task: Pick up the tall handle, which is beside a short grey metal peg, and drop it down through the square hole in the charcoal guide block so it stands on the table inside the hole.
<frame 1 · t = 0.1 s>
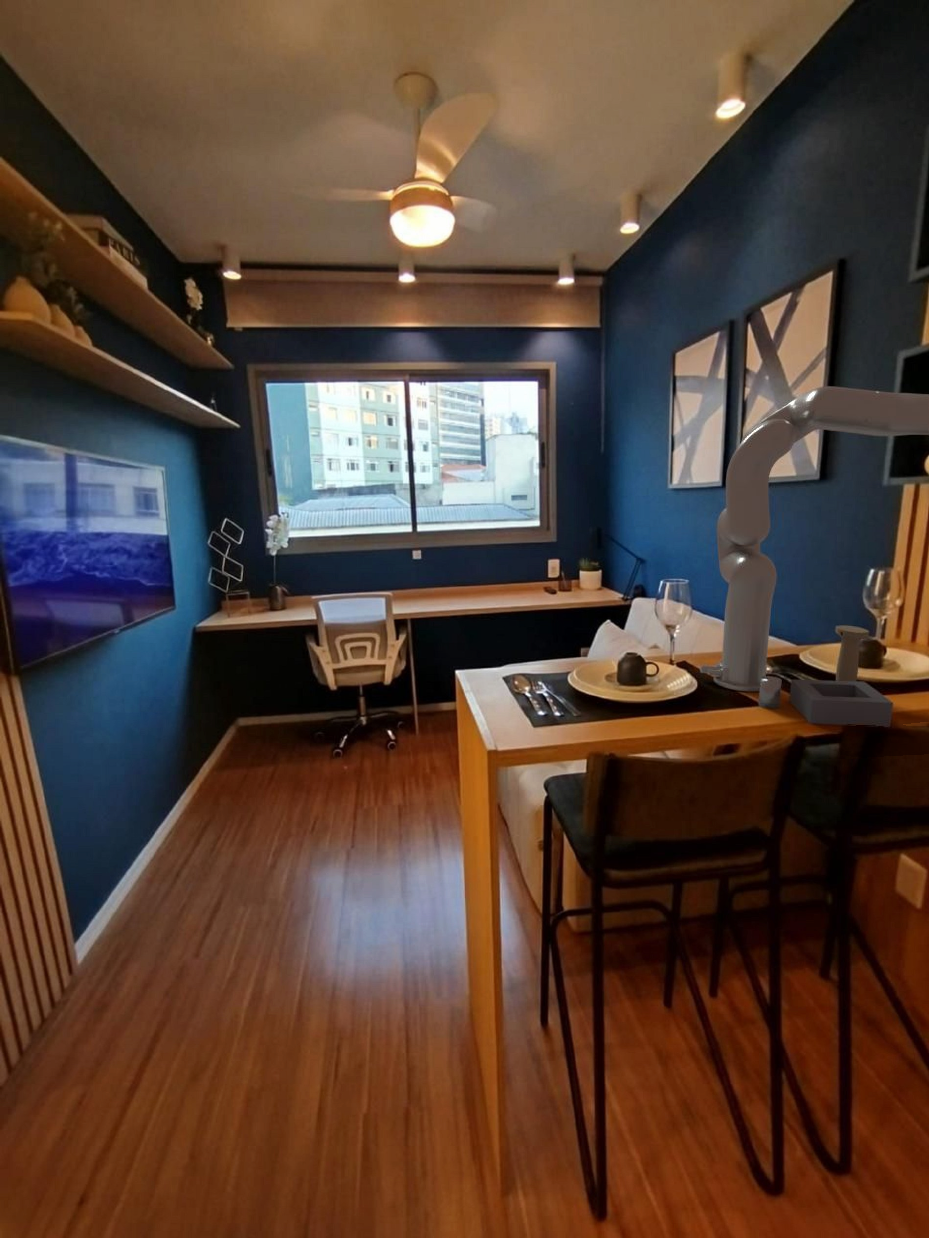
guide block: (836, 713, 116), on the table
short peg: (768, 705, 122), on the table
handle: (844, 694, 127), on the table
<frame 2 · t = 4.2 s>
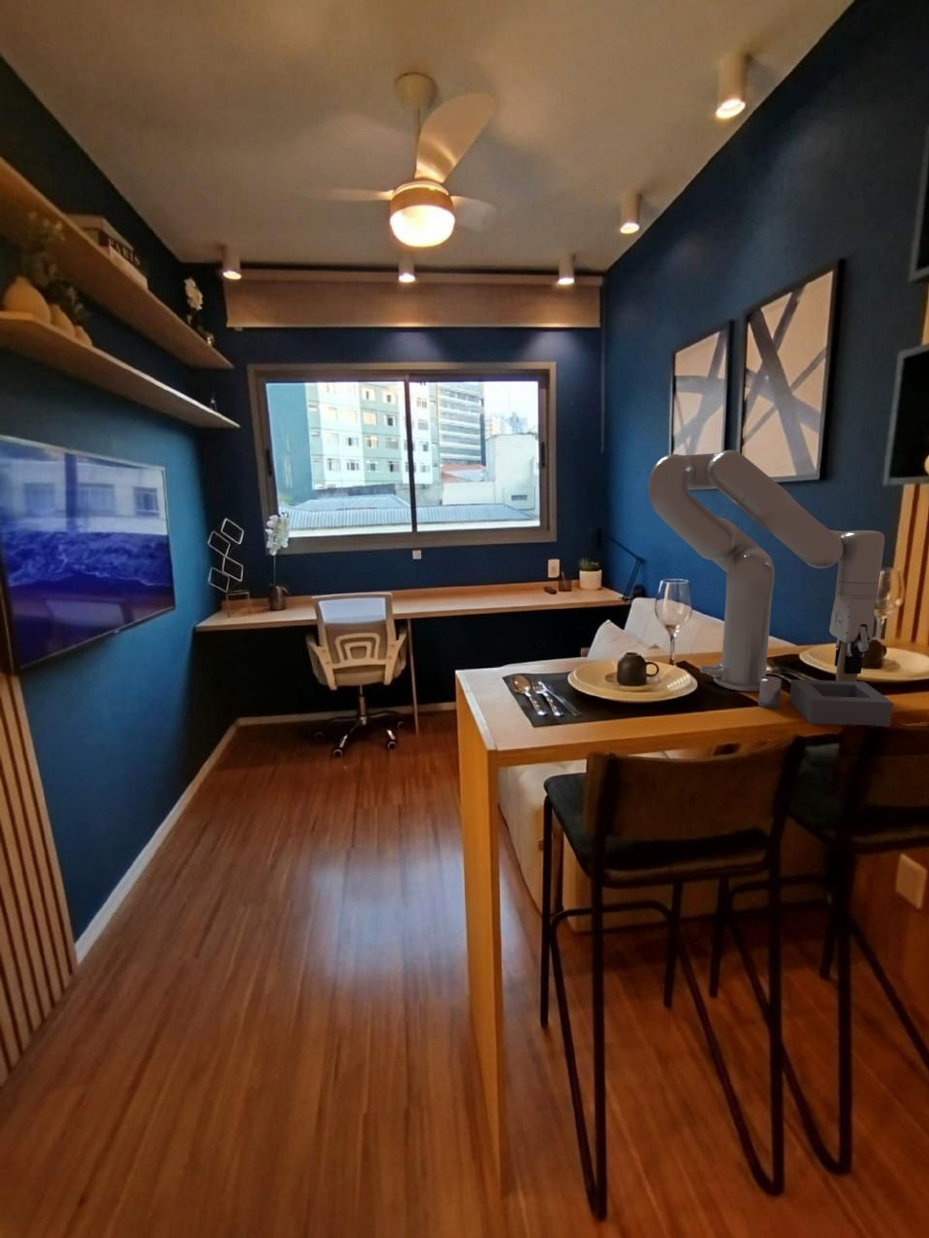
hand: (847, 669, 125), 6 cm above the table, tool pointing down, fingers closed on handle, 4 cm apart
handle: (844, 694, 127), on the table, touching gripper
everything else where it was.
when the fingers open (8 cm above the table, at t = 9.9 s): handle drops 2 cm, resting in guide block.
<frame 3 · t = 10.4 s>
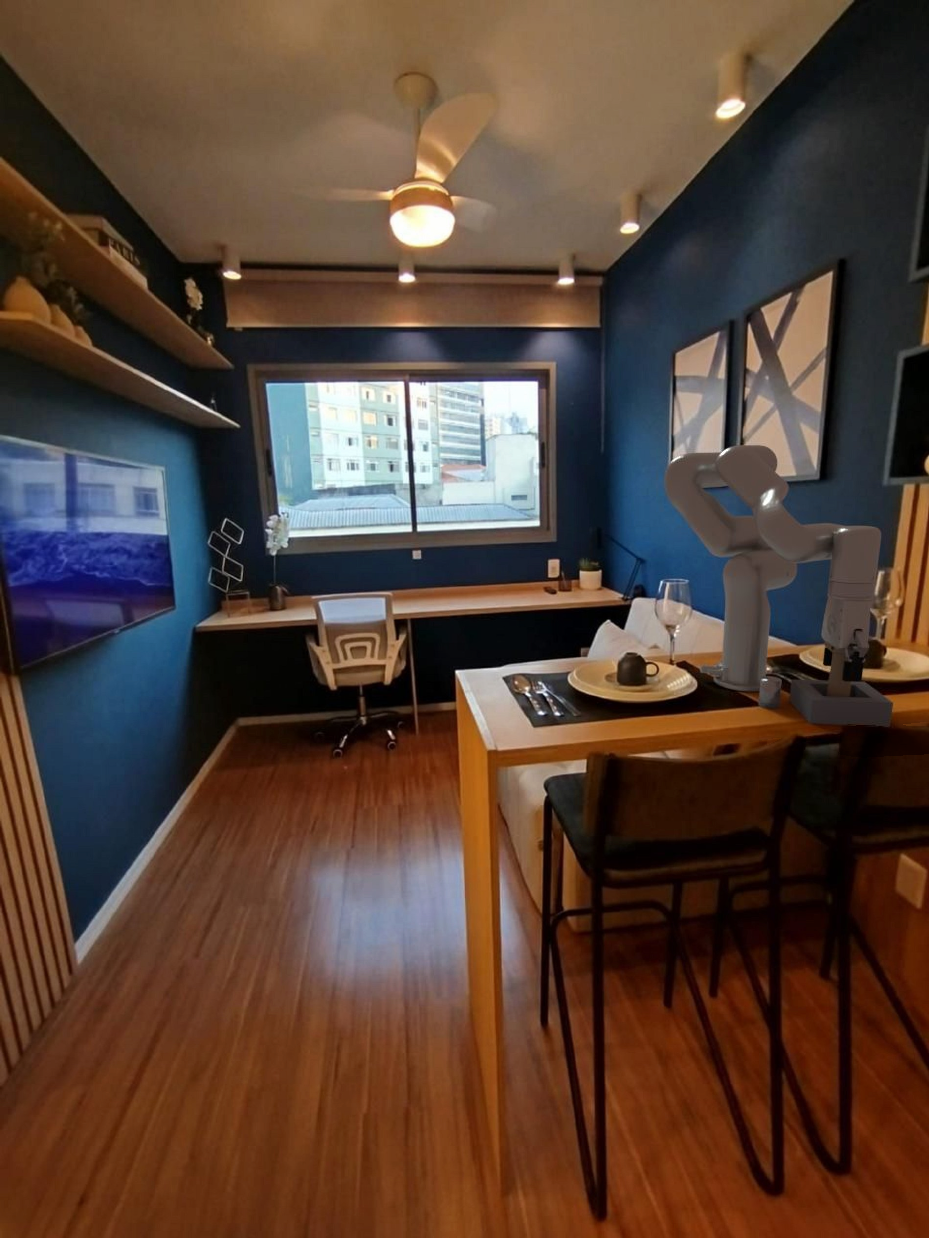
hand: (841, 673, 114), 9 cm above the table, tool pointing down, fingers open, 9 cm apart
handle: (836, 713, 117), resting in guide block
everything else where it was.
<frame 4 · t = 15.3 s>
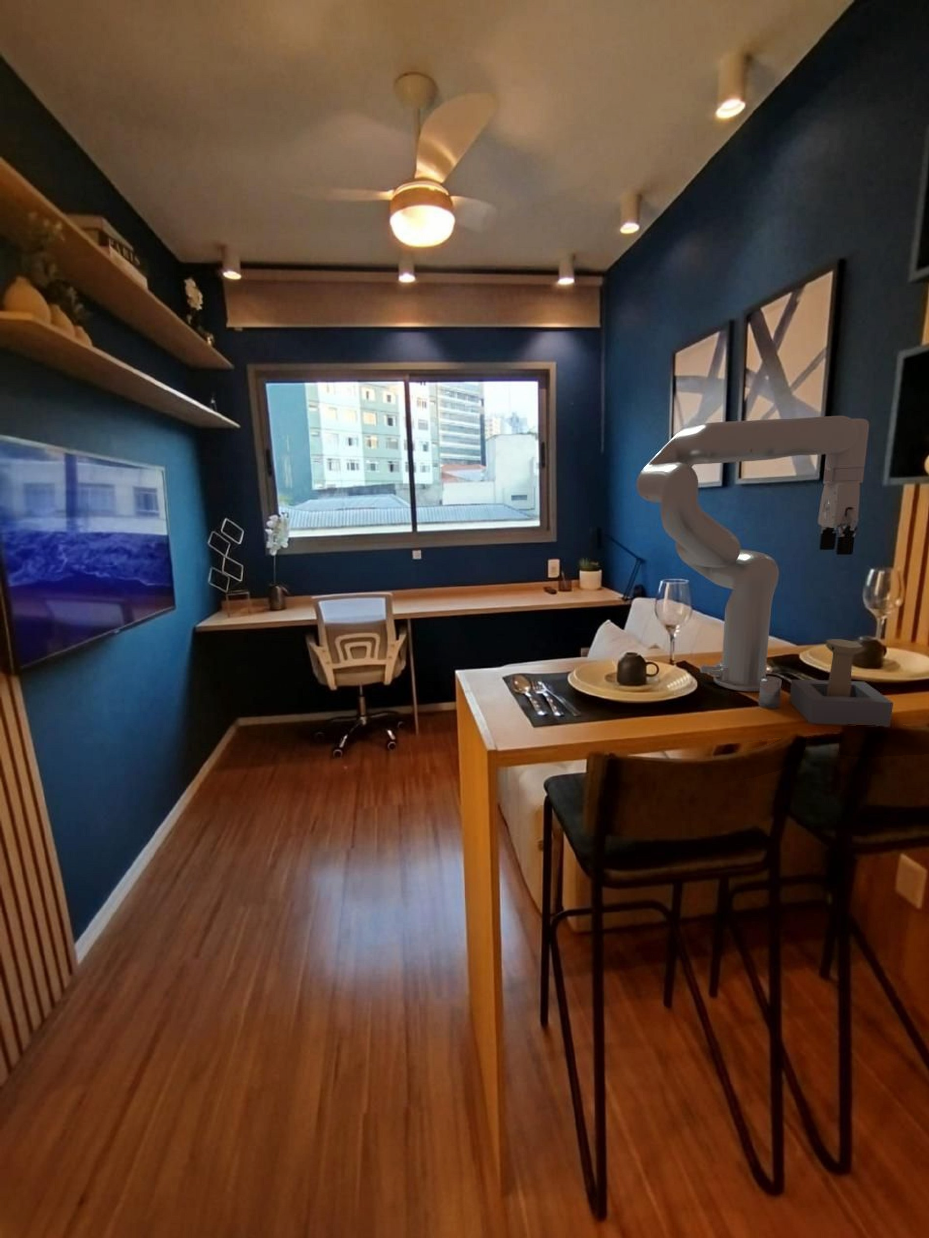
hand: (835, 552, 132), 30 cm above the table, tool pointing down, fingers open, 9 cm apart
nothing on the table moved.
at the end: handle 0.1 cm off-centre on the guide block, point 0.0 cm above the guide block's base; handle touching table; handle tilted 0° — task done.
